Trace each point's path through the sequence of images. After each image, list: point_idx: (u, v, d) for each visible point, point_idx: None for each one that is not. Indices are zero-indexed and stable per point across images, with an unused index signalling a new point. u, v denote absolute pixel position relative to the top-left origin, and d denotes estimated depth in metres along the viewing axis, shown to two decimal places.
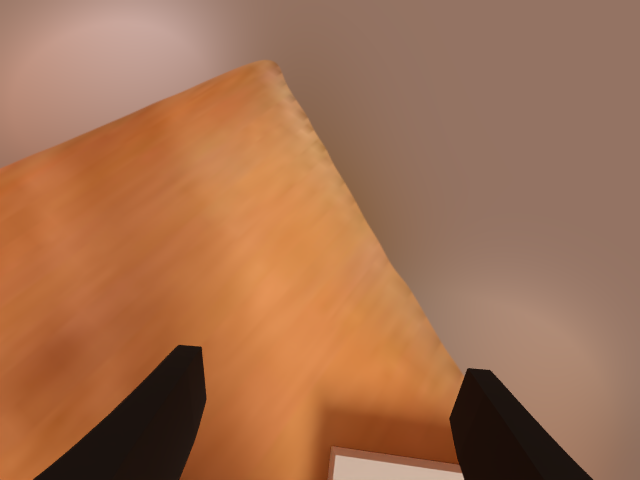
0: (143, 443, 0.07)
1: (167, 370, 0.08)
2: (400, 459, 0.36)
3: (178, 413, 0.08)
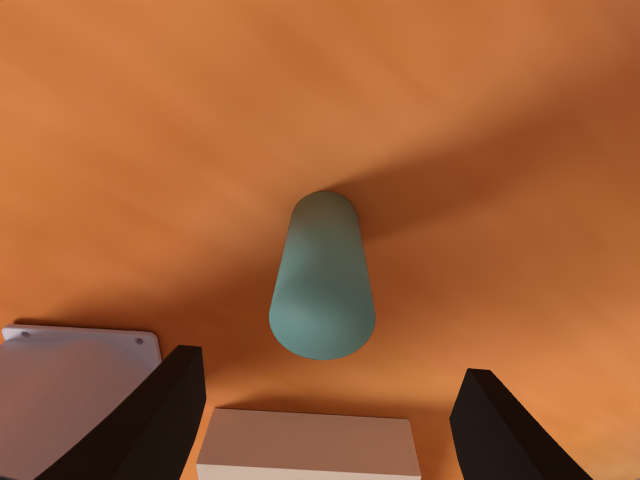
0: (143, 443, 0.07)
1: (167, 370, 0.08)
2: None
3: (178, 413, 0.08)
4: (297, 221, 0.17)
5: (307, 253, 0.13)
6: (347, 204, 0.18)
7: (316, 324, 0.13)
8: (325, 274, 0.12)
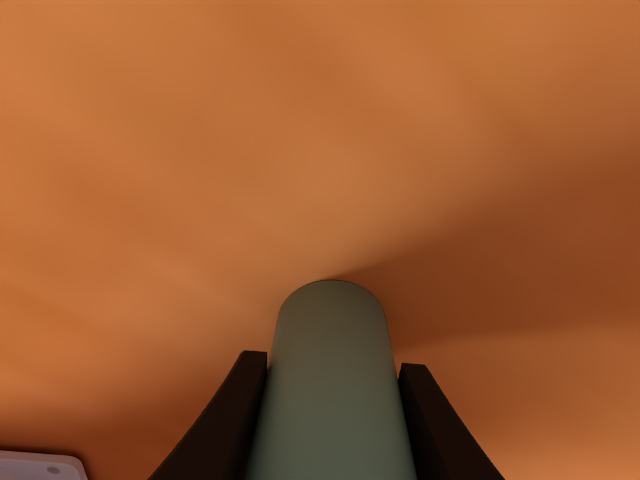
0: (234, 450, 0.07)
1: (242, 376, 0.08)
2: None
3: (253, 419, 0.08)
4: (285, 356, 0.09)
5: None
6: (371, 308, 0.11)
7: None
8: None
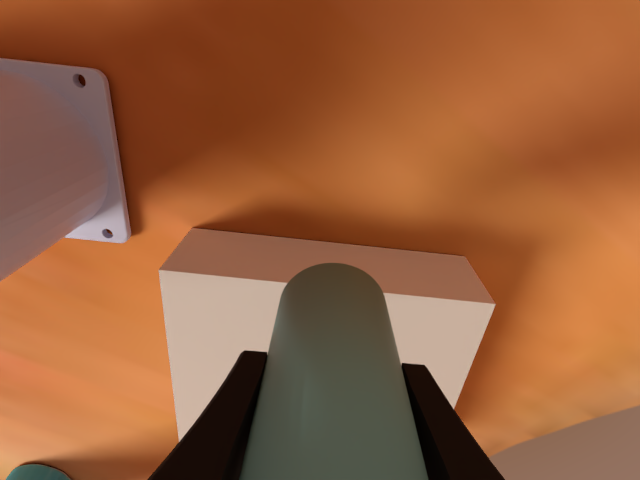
0: (234, 450, 0.07)
1: (241, 376, 0.08)
2: None
3: None
4: (286, 329, 0.09)
5: (299, 457, 0.06)
6: (370, 287, 0.11)
7: None
8: None
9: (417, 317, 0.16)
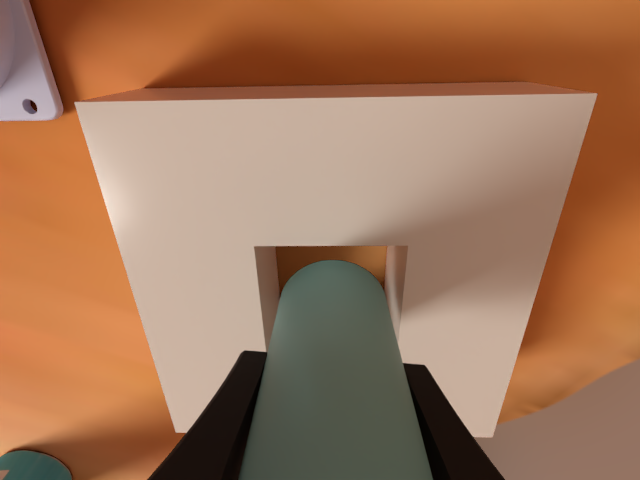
0: (234, 450, 0.07)
1: (241, 376, 0.08)
2: None
3: None
4: (287, 324, 0.09)
5: (302, 445, 0.06)
6: (371, 284, 0.11)
7: None
8: None
9: (472, 137, 0.10)
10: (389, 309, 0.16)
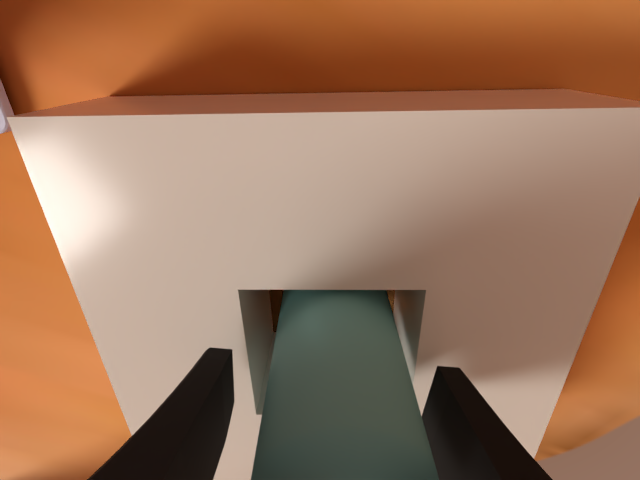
0: (186, 446, 0.07)
1: (202, 373, 0.08)
2: None
3: (213, 416, 0.08)
4: None
5: (315, 364, 0.08)
6: None
7: None
8: (352, 424, 0.06)
9: (511, 161, 0.08)
10: None
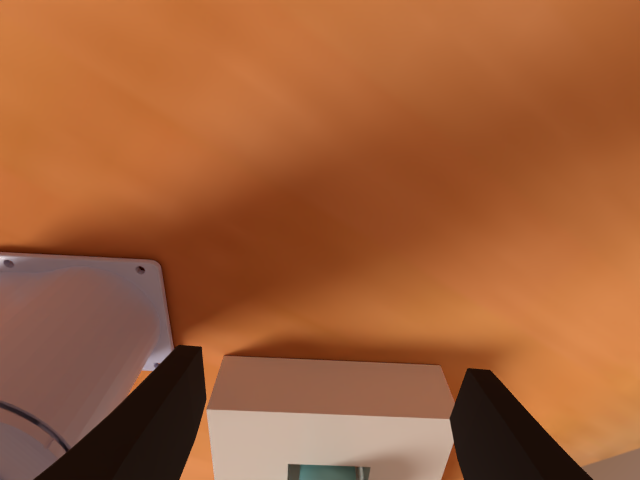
0: (143, 443, 0.07)
1: (167, 370, 0.08)
2: None
3: (178, 413, 0.08)
4: None
5: None
6: None
7: None
8: None
9: (403, 430, 0.21)
10: (359, 472, 0.26)
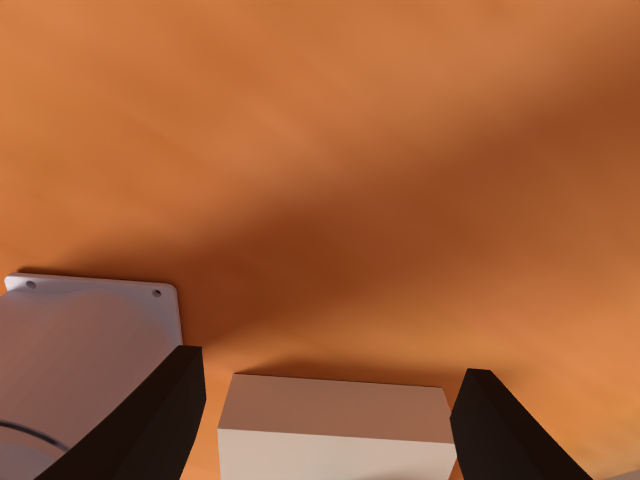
0: (143, 443, 0.07)
1: (167, 370, 0.08)
2: None
3: (178, 413, 0.08)
4: None
5: None
6: None
7: None
8: None
9: (405, 452, 0.21)
10: None
